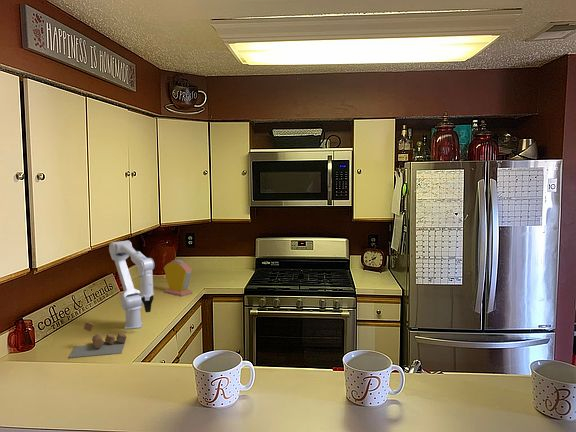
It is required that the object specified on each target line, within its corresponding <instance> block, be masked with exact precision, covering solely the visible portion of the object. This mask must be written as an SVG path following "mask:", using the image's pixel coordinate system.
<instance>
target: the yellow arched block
mask: <svg viewBox="0 0 576 432" xmlns="http://www.w3.org/2000/svg"><path fill="white" fill-rule="evenodd" d="M163 270H164V273H165V277H166V281H167V285H168V289H164V293H165V294H170V295H173V294H174V295H175V296H178V295H179V297H184V295H185V296H188V294H189V295H192V294H193V290H191V289H190V290H189V286H190V280H191V276H192V271H193V269H192V267H191V266H189V264H188V263H186V262H185V261H184V260H182V259H174V260H171V261H170V262H168V263H166V265H164V267H163ZM174 295H173V296H174Z"/></svg>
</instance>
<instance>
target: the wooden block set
mask: <svg viewBox="0 0 576 432" xmlns="http://www.w3.org/2000/svg"><path fill="white" fill-rule="evenodd" d="M93 327H94V323H92V322H89V321H88V322H87V321H85V323H84V326H83V329H84V330H85V331H88V332H92V330H93ZM91 338H92V339H91V341H92V345H94V347H95V348H100V347H102V345H103V344H104V341H105V344H108V343H109V344H113V343H115V340H116V341H117V343H119V342H120V343H126V340H127V336H126V333H122V332H121V333H120V332H118V333H117V336H114V334H110V333H107V334H106V336H105V338H104V340H103V338H102V335H101V334H100V333H96V334H94V335H93V336H92V337H91Z"/></svg>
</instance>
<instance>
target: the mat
mask: <svg viewBox="0 0 576 432" xmlns="http://www.w3.org/2000/svg"><path fill="white" fill-rule="evenodd" d="M125 343H126V342H125ZM125 343H120V342H114V343H113V344H109V343H103V345H102V347H100V348H95V347H94V344H87V345H86V344H85V345H76V346H74V348H73V349H72V351H71V352H70V354H69V356H68V359H74V358H77V359H78V358H86V357H96V356H107V355H108V356H109V355H120V354H121V355H122V354H123V353H122V352H123V351H124V347H125Z"/></svg>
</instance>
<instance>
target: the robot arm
mask: <svg viewBox="0 0 576 432" xmlns="http://www.w3.org/2000/svg"><path fill="white" fill-rule="evenodd" d="M108 246H109V247H108V251H109V255H110V257H111V260H112V261H114V264H115V267H116V270H117V273H118V276H119V280H120V283H121V285H122V286H121V287H122V288H123V292H122V293H121V294H120V297H119V298H120V306H121V308H122V309H123V310H124V311H125V313H124V314H125V324H124V329H125V330H128V329H129V330H130V329H141V328H142V326H143V321H142V318H141V317H142V316H141V309H142V307H144V311H145V313H150V312H151V310H152V303H153V300H154V294H155V292H154V279H153V278H154V277H153V275H154V274H153V270H154V269H155V265H156V264H155V261H154V259H153V258H152V257H147V256H145V255H144V254H143V253H142V252H141V251H139V250H138V251H137V250H136V249H135V248H134V247H133V245H132V242H131V241H130V239H129V240H128V239H127V240H121V241H112V242H110V243H109V245H108ZM129 257H130V260H131V261H132V263H133V264H135V265H136V267H137V270H138V275H139V278H140V279H139V281H140V290H138V289H137V288H135V286H134V283H133V280H132V276H131V273H130V269H129V267H128V265H127V264H128V263H127V261H126V260H127V259H128V258H129Z"/></svg>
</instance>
